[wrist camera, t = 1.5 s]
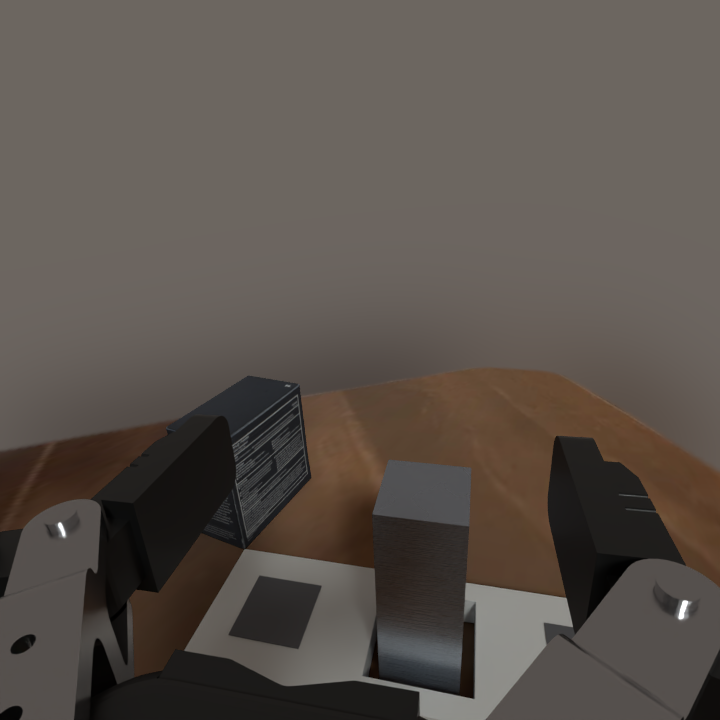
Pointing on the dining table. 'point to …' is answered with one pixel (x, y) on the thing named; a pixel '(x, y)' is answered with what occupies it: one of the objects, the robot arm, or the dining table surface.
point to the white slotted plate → (364, 629)
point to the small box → (258, 454)
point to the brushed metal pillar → (421, 573)
